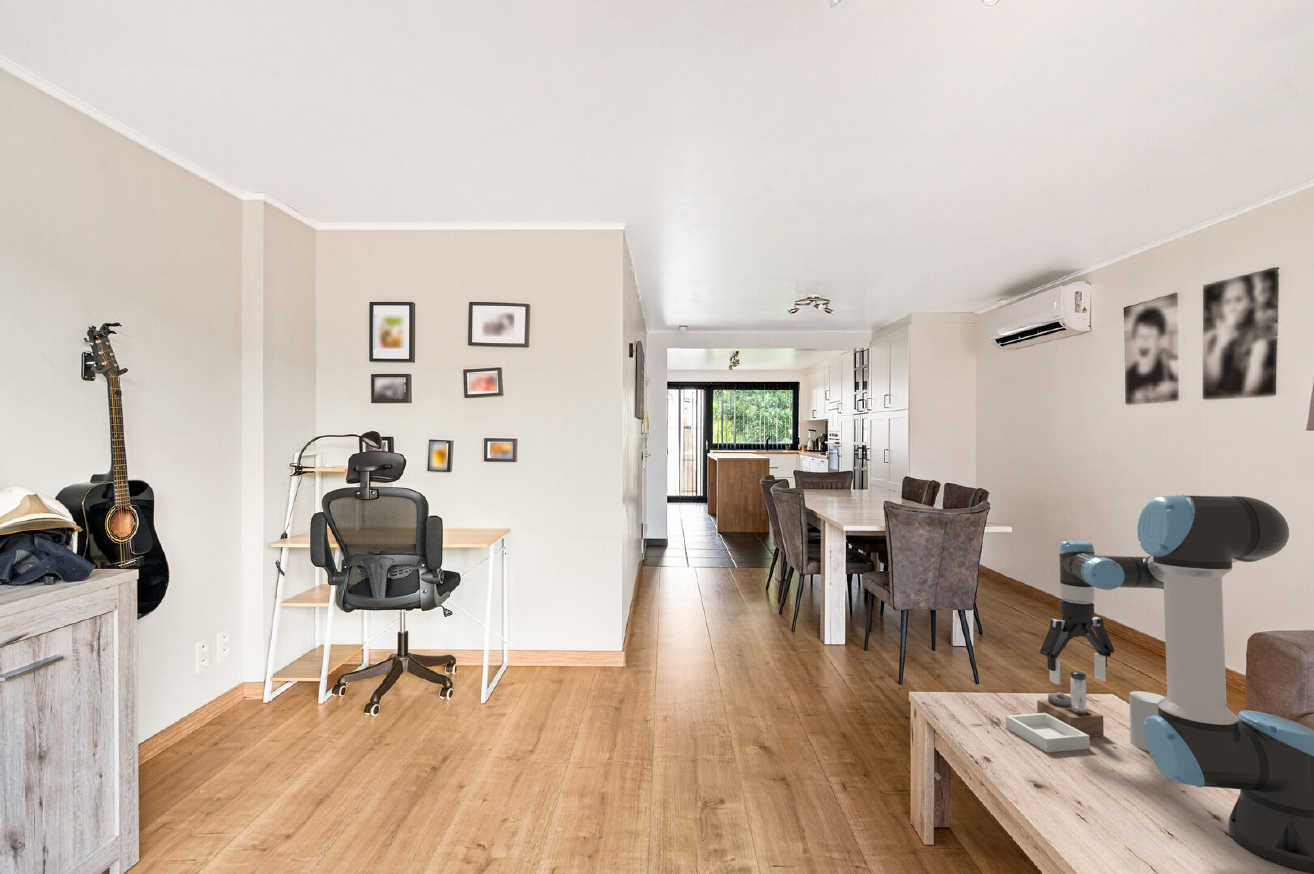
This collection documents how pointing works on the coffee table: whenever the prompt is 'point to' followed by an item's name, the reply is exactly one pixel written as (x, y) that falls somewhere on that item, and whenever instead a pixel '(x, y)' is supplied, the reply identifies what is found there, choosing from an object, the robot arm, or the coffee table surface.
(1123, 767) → the coffee table surface
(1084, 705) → the pin
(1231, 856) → the coffee table surface
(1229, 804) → the coffee table surface
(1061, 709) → the block
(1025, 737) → the tray
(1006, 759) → the coffee table surface
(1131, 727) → the white cylinder
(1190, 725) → the robot arm
